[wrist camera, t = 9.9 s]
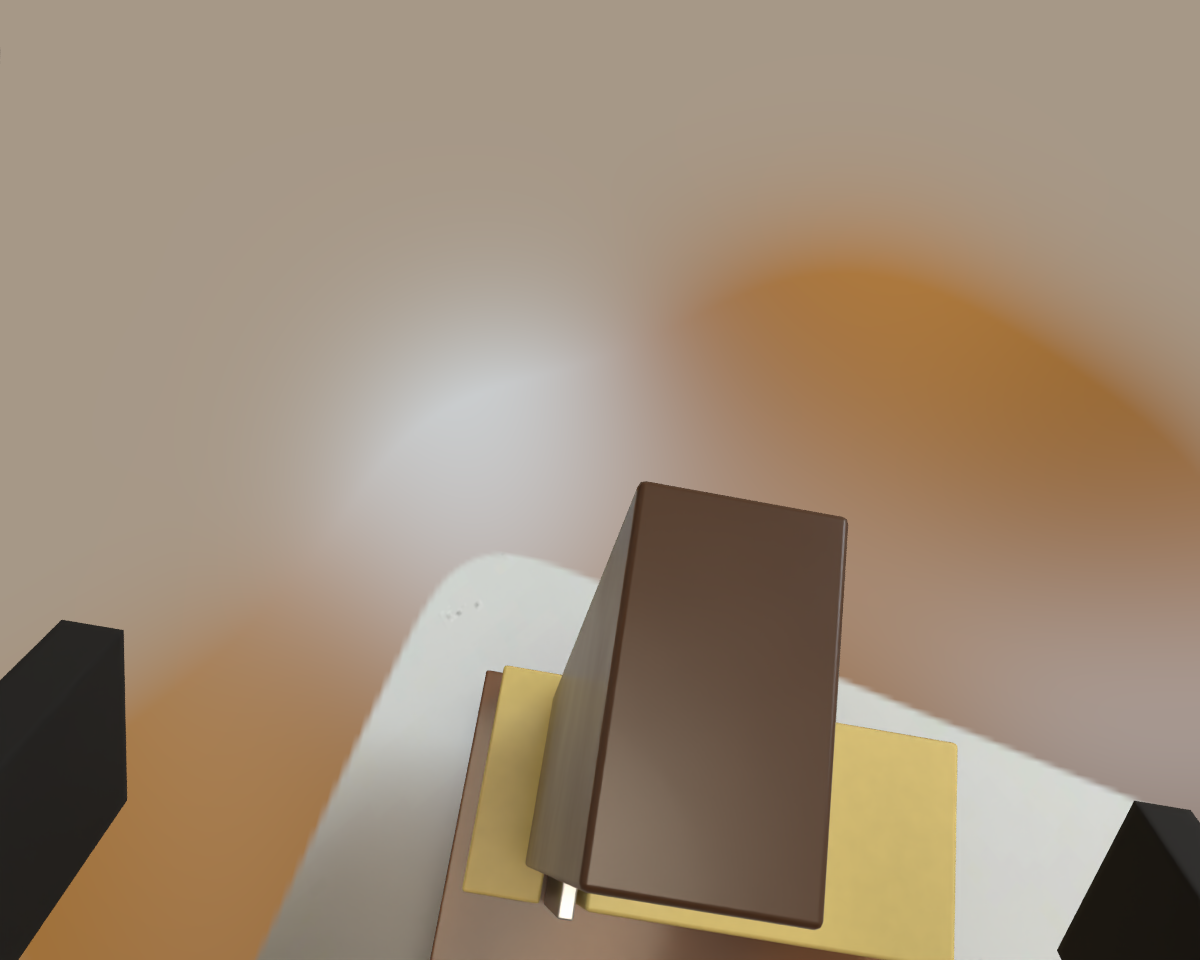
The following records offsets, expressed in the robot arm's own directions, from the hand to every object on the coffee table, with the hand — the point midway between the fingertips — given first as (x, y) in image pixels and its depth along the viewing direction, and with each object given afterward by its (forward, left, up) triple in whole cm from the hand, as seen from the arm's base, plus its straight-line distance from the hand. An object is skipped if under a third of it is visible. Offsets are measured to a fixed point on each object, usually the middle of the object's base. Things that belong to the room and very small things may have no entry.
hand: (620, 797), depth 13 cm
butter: (+3, +1, -12) cm, 12 cm away
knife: (0, +1, -11) cm, 11 cm away
